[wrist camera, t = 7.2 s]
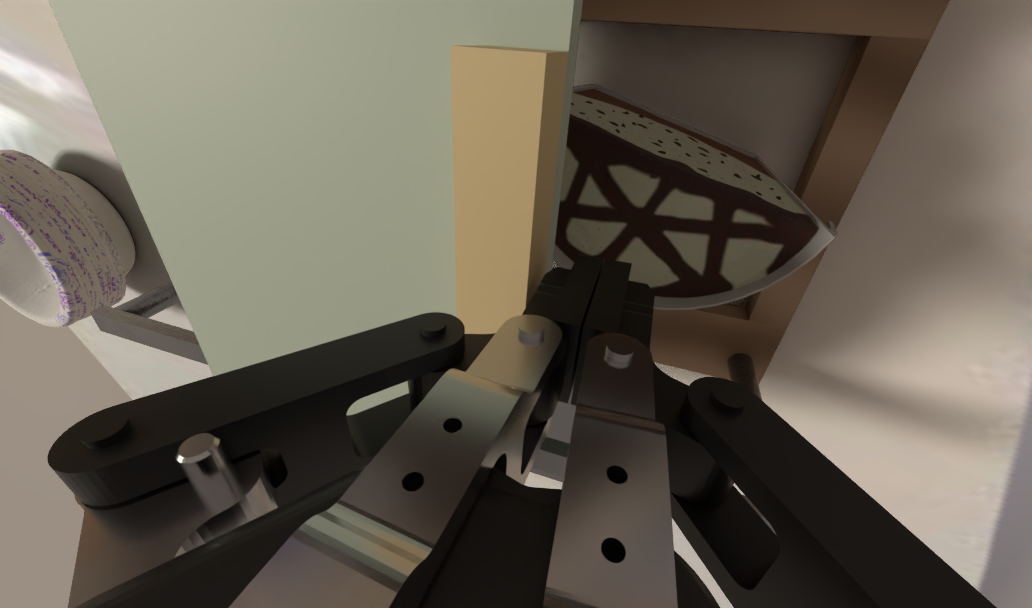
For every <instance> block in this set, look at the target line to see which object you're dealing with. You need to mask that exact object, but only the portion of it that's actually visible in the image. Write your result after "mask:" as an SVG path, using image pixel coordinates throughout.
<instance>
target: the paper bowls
mask: <svg viewBox="0 0 1032 608" xmlns="http://www.w3.org/2000/svg"><path fill="white" fill-rule="evenodd" d="M134 262H135V246H134V243H133V239H132V237H131V234H130V232H129V230H128V228H127V226H126V224H125V222H124V221H123V219H122V218H121V216H120V215H119V213H118V212H117V211H116V209H115V208H114V207H113V205H112V204H111V203H110V202H109V201H108V200H107V199H106V198H105V197H104V196H103V195H102V194H101V193H100V192H99V191H98V190H97V189H95V188H94V187H93V186H91V185H90V184H89V183H87V182H86V181H84V180H82V179H81V178H79V177H77V176H75V175H72V174H70V173H67V172H63V171H58V170H52V169H51V168H49V167H48V166H46V165H45V164H43V163H42V162H40V161H38V160H37V159H35V158H33V157H31V156H29V155H27V154H24V153H21V152H18V151H15V150H0V298H1V299H2V300H3V301H4V302H6V303H7V304H8V305H9V306H11V307H12V308H14V309H15V310H17V311H18V312H20V313H21V314H23V315H24V316H26V317H28V318H29V319H31V320H33V321H35V322H38V323H40V324H43V325H46V326H50V327H64V326H68V325H71V324H73V323H74V322H76V321H79V320H81V319H83V318H86V317H88V316H91V313H90V312H91V311H93V310H95V309H97V308H99V307H102V306H104V305H105V306H108V307H111V306H112V305H114V304H116V303H118V302H120V301H121V299H122V298H123V297H124V295H125V290H126V278H125V276H126V275H127V274H128V273H129V271H130V270H131V269H132V267H133V265H134Z"/></svg>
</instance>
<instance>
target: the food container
mask: <svg viewBox="0 0 1032 608" xmlns="http://www.w3.org/2000/svg"><path fill="white" fill-rule="evenodd" d="M836 234H837V232H836V229H835V227H834V224H833V222H831V221H829V220H828V221H827V222H826V223H825V224H824V223H823V222H822V221H821V220H820V219H819V218H818V217H817V216H816V215H815V214H814V213H813V212H812V211H811V210H810V209H809V208H808V207H807V206H806V205H805V204H804V203H803V202H802V201H801V200H800V199H799V197H798V196H797V195H796V194H795V193H794V192H793V191H792V190H791V189H790V188H789V187H788V186H787V185H786V184H785V183H784V182H783V181H782V180H781V179H780V178H779V177H778V176H777V175H776V174H775V173H774V172H773V171H772V170H771V169H770V168H769V167H768V166H767V165H766V164H765V162H764V161H763V160H762V159H761V158H760V157H758V156H756V155H754V154H752V153H749V152H747V151H745V150H742V149H740V148H738V147H735V146H733V145H731V144H729V143H726V142H724V141H722V140H719V139H717V138H715V137H713V136H710V135H708V134H706V133H703V132H701V131H699V130H697V129H694V128H692V127H690V126H687V125H685V124H683V123H680V122H678V121H676V120H674V119H671V118H669V117H667V116H664V115H662V114H660V113H658V112H655V111H653V110H651V109H648V108H646V107H644V106H642V105H639V104H637V103H635V102H632V101H630V100H628V99H625V98H623V97H621V96H619V95H616V94H614V93H612V92H609V91H607V90H605V89H603V88H600V87H598V86H596V85H593V84H591V85H584V86H577V87H573V90H572V99H571V107H570V116H569V125H568V133H567V142H566V151H565V159H564V168H563V177H562V185H561V194H560V203H559V211H558V220H557V229H556V237H555V246H554V254H553V260H554V261H555V262H556V263H557V264H558V265H559V266H560V267H561V268H566V269H572V267H573V264H574V262H575V260H576V258H577V256H578V254H582V255H588V256H593V257H599V258H604V263H605V260H606V259H610V260H616V261H621V262H627V263H632V266H631V271H630V275H629V281H634V282H640V283H645V284H648V285H649V287H650V288H651V290H652V291H653V293H654V294H655V298H654V307H653V308H654V309H661V310H692V309H699V308H706V307H713V306H718V305H721V304H725V303H729V302H733V301H736V300H740V299H743V298H745V297H747V296H750V295H752V294H755V293H757V292H760V291H762V290H765V289H767V288H769V287H770V286H772V285H774V284H776V283H777V282H779V281H781V280H783V279H785V278H786V277H788V276H790V275H792V274H793V273H794V272H796V271H797V270H798V269H800V268H801V267H802V266H804V265H805V264H806V263H808V262H809V261H810V260H812V259H813V258H814V257H816V256H817V255H818V254H819V253H820V252H821V251H822V250H823V249H824V248H825V247H826V246H827V245H828V244H829V243H830V242H831V241H832V240H833V239H834V238H835V235H836ZM603 266H604V265H603Z"/></svg>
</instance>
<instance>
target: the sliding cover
mask: <svg viewBox="0 0 1032 608" xmlns="http://www.w3.org/2000/svg"><path fill="white" fill-rule="evenodd" d="M48 2H49V4H50V6H51V8H52V11H53V13H54V15H55V18H56V20H57V22H58V24H59V27H60V29H61V31H62V33H63V36H64V38H65V40H66V43H67V45H68V47H69V49H70V52H71V54H72V56H73V58H74V61H75V63H76V65H77V67H78V70H79V72H80V74H81V77H82V79H83V81H84V83H85V86H86V88H87V90H88V92H89V95H90V97H91V99H92V102H93V104H94V106H95V108H96V111H97V113H98V115H99V117H100V120H101V122H102V124H103V127H104V129H105V131H106V133H107V136H108V138H109V140H110V142H111V145H112V147H113V149H114V152H115V154H116V156H117V158H118V161H119V163H120V165H121V167H122V170H123V172H124V174H125V176H126V179H127V181H128V183H129V186H130V188H131V190H132V192H133V195H134V197H135V199H136V201H137V204H138V206H139V208H140V211H141V213H142V215H143V217H144V220H145V222H146V224H147V226H148V229H149V231H150V233H151V236H152V238H153V240H154V242H155V245H156V247H157V249H158V251H159V254H160V256H161V258H162V261H163V263H164V265H165V267H166V270H167V272H168V274H169V276H170V279H171V281H172V283H173V285H174V288H175V290H176V292H177V295H178V297H179V299H180V301H181V304H182V306H183V308H184V310H185V313H186V315H187V317H188V320H189V322H190V324H191V326H192V329H193V331H194V333H195V335H196V338H197V340H198V342H199V345H200V347H201V349H202V351H203V354H204V356H205V358H206V360H207V363H208V365H209V367H210V370H211V372H212V374H213V376H216V375H219V374H223V373H226V372H229V371H233V370H236V369H240V368H243V367H246V366H250V365H253V364H256V363H260V362H263V361H266V360H270V359H273V358H276V357H280V356H283V355H286V354H290V353H293V352H296V351H300V350H303V349H306V348H310V347H313V346H317V345H320V344H323V343H327V342H330V341H333V340H337V339H340V338H343V337H347V336H350V335H353V334H357V333H360V332H363V331H367V330H370V329H373V328H377V327H380V326H383V325H387V324H390V323H394V322H397V321H400V320H404V319H407V318H410V317H414V316H417V315H420V314H424V313H431V312H441V313H447V314H451V315H453V316H455V317H457V318H459V319H460V320H461V321H462V323H463V324H464V327H465V334H493V333H496V332H497V331H498V330H499V328H500V327H501V326H502V324H503V323H504V322H505V321H507V320H508V319H510V318H512V317H515V316H519V315H522V314H523V312H524V310H525V308H526V307H527V305H528V303H529V301H530V300H531V298H532V296H533V295H534V293H535V292H536V289H537V288H538V286H539V285H540V282H541V281H542V279H543V277H544V275H545V274H546V273H547V272H549V271H551V270H552V263H553V254H554V246H555V237H556V229H557V220H558V211H559V203H560V194H561V185H562V177H563V168H564V159H565V151H566V142H567V133H568V125H569V116H570V107H571V99H572V90H573V82H574V73H575V64H576V56H577V47H578V38H579V30H580V21H581V12H582V4H583V0H48ZM408 393H409V390H408V382H407V381H406V382H403V383H401V384H398V385H395V386H393V387H390V388H387V389H385V390H382V391H379V392H377V393H374V394H371V395H369V396H366V397H363V398H361V399H359V400H357V401H356V402H354V403H353V404H352V405H351V406H350V408H349V409H348V411H347V414H346V415H353V414H356V413H359V412H361V411H364V410H367V409H369V408H372V407H374V406H377V405H379V404H382V403H384V402H387V401H390V400H392V399H395V398H397V397H400V396H402V395H405V394H408ZM524 484H525V483H524Z"/></svg>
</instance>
